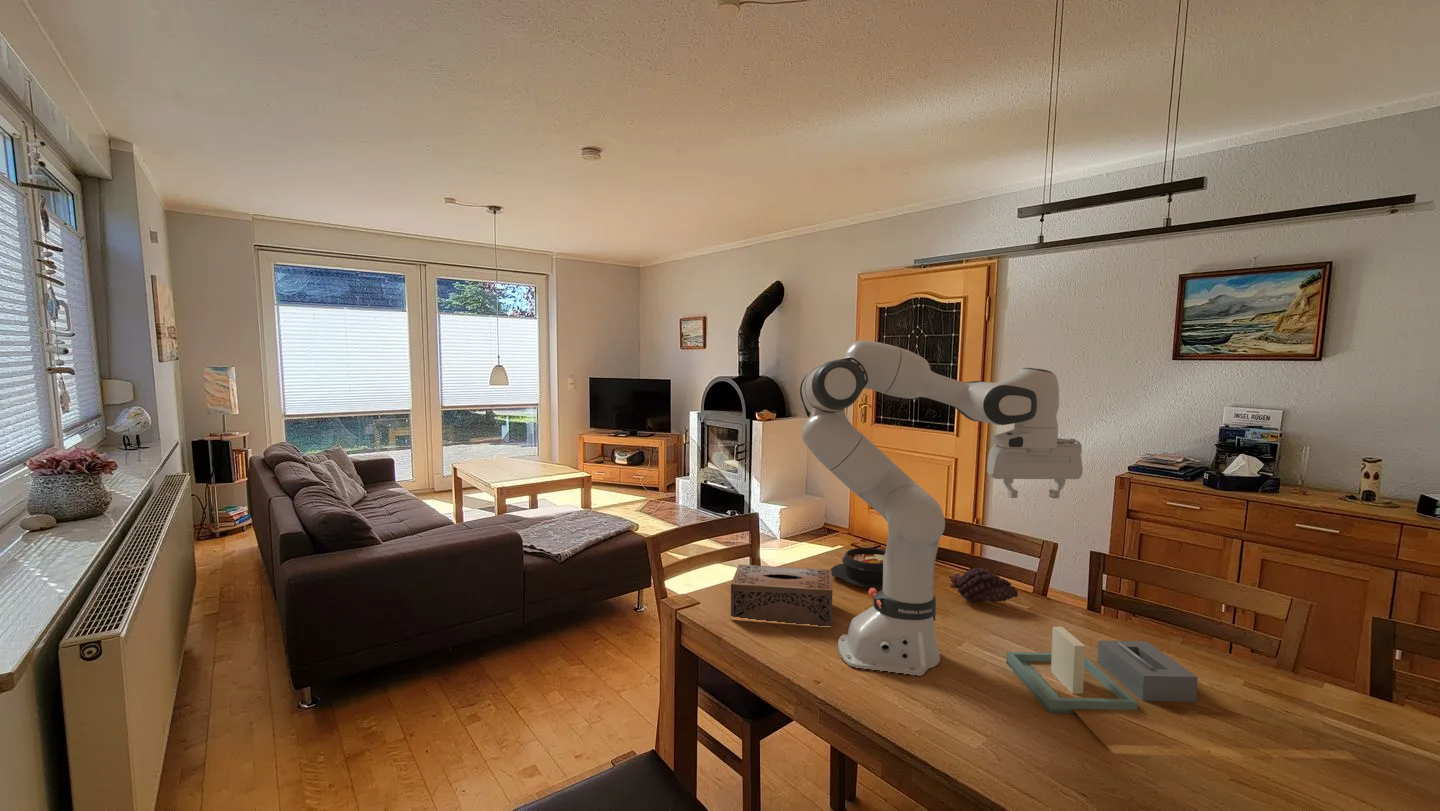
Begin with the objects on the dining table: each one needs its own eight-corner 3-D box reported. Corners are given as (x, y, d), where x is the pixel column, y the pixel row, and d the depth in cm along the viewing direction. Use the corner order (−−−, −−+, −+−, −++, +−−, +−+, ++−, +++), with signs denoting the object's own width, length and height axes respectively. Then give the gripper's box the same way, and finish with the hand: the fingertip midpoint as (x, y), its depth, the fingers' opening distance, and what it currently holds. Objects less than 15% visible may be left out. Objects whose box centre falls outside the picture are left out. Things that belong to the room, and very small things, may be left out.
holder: (1142, 705, 109) (1143, 672, 109) (1097, 666, 123) (1098, 637, 123) (1195, 706, 109) (1197, 673, 108) (1144, 667, 123) (1146, 638, 122)
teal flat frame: (1049, 712, 107) (1050, 700, 107) (1006, 662, 125) (1006, 651, 125) (1136, 714, 106) (1137, 702, 106) (1080, 664, 124) (1081, 653, 124)
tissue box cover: (831, 604, 156) (831, 569, 155) (832, 629, 142) (832, 590, 141) (739, 598, 161) (738, 564, 160) (731, 621, 147) (730, 584, 146)
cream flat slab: (1072, 694, 112) (1074, 645, 111) (1050, 672, 120) (1052, 626, 119) (1082, 694, 112) (1085, 645, 111) (1060, 672, 120) (1062, 626, 119)
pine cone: (1019, 605, 155) (1020, 569, 154) (1014, 618, 147) (1015, 581, 146) (951, 590, 165) (951, 557, 164) (943, 602, 156) (944, 567, 156)
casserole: (819, 583, 171) (820, 556, 170) (842, 565, 186) (842, 540, 186) (903, 602, 157) (903, 572, 157) (920, 580, 173) (920, 553, 172)
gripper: (1073, 436, 133) (1071, 494, 134) (985, 436, 134) (983, 494, 135) (1090, 440, 126) (1087, 501, 127) (996, 440, 127) (995, 500, 128)
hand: (1033, 497), depth 131 cm, fingers open, 8 cm apart
